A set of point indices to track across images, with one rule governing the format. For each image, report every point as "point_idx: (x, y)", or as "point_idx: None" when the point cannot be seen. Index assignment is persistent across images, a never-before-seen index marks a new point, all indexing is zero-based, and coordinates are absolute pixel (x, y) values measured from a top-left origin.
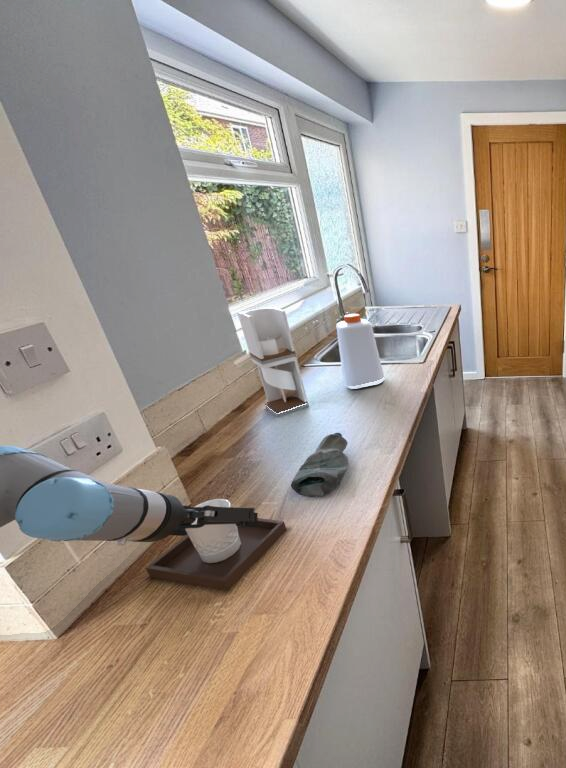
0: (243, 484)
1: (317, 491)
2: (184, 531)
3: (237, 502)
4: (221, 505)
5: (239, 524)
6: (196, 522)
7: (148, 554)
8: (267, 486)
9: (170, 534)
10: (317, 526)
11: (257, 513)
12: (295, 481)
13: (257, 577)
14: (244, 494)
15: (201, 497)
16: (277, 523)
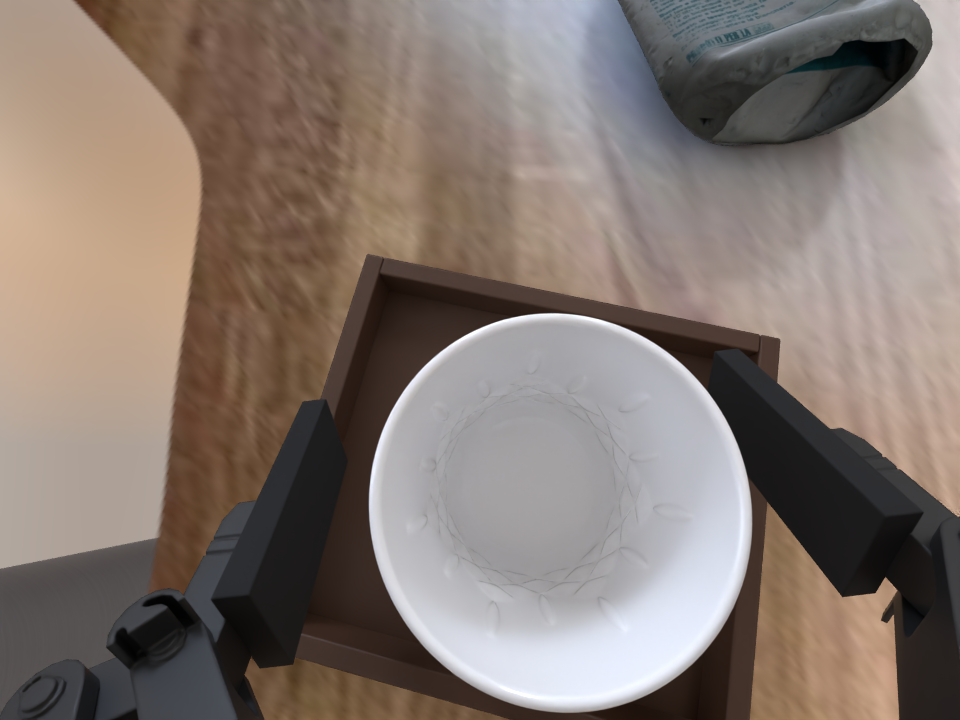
0: (352, 54)
1: (760, 116)
2: (337, 463)
3: (394, 164)
4: (556, 346)
5: (890, 604)
6: (419, 459)
7: (178, 468)
8: (472, 70)
9: (310, 583)
10: (884, 337)
11: (738, 352)
12: (736, 68)
13: (800, 660)
14: (395, 116)
15: (209, 126)
16: (754, 352)
